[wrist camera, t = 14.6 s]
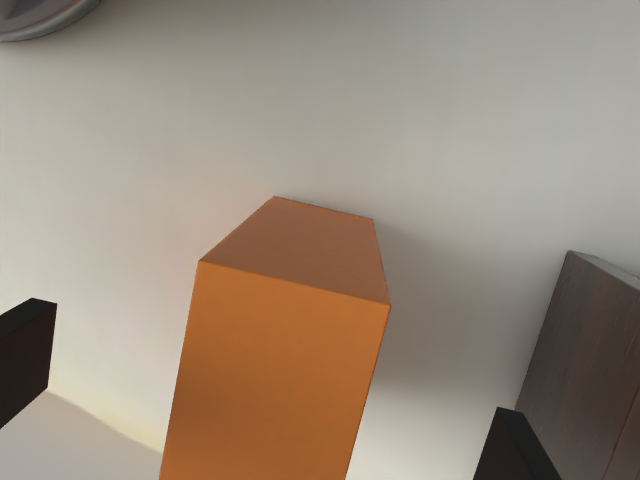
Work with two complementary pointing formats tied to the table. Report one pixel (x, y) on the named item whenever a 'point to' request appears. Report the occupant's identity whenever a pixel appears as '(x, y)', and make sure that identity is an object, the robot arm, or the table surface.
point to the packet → (279, 348)
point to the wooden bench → (588, 373)
